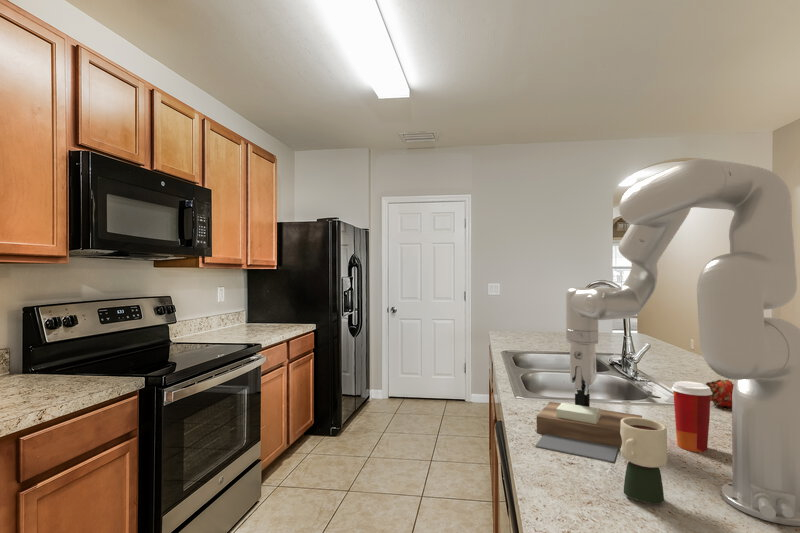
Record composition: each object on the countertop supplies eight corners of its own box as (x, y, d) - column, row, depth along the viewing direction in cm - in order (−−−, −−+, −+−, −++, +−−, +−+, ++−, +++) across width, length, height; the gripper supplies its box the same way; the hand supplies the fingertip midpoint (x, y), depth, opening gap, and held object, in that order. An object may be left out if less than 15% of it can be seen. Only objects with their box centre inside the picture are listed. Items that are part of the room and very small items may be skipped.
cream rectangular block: (596, 424, 103) (596, 415, 103) (556, 417, 108) (556, 408, 108) (600, 416, 108) (600, 408, 108) (562, 410, 113) (562, 402, 113)
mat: (613, 462, 92) (613, 461, 92) (535, 446, 100) (535, 445, 100) (618, 448, 99) (618, 446, 99) (545, 434, 108) (545, 433, 108)
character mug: (638, 481, 83) (638, 412, 84) (679, 497, 78) (679, 423, 78) (606, 499, 77) (606, 424, 77) (649, 517, 71) (648, 436, 71)
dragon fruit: (708, 414, 127) (729, 414, 133) (737, 403, 122) (757, 403, 127) (691, 386, 132) (712, 387, 138) (718, 374, 126) (739, 375, 132)
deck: (638, 451, 97) (638, 433, 97) (536, 432, 109) (536, 416, 109) (642, 431, 109) (642, 415, 109) (550, 416, 121) (550, 401, 121)
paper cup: (704, 442, 102) (704, 381, 102) (719, 456, 95) (718, 390, 95) (666, 439, 104) (666, 379, 105) (677, 452, 97) (677, 387, 97)
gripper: (593, 341, 104) (593, 420, 104) (602, 334, 117) (602, 404, 116) (560, 339, 108) (560, 415, 108) (572, 331, 120) (572, 399, 120)
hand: (582, 409), depth 112 cm, fingers closed
